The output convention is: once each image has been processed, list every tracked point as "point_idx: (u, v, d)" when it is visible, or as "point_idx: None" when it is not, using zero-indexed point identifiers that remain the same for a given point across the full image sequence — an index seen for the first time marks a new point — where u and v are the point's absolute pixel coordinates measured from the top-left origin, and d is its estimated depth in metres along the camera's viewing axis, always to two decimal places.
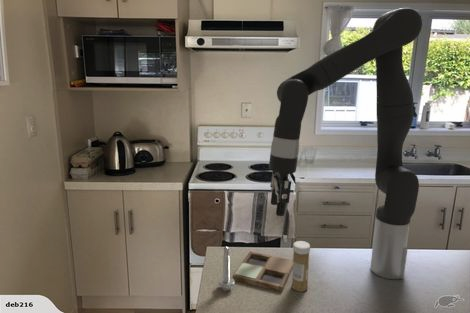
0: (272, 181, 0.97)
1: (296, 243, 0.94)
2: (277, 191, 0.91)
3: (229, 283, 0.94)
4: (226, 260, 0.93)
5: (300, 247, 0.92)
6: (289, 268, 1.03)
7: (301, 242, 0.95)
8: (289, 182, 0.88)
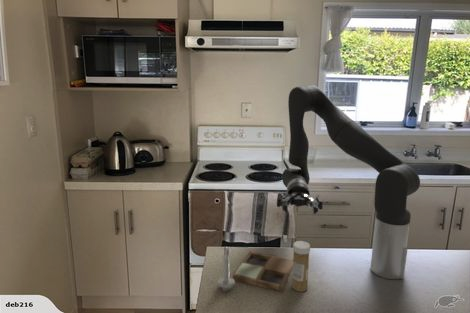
0: None
1: (296, 243, 0.94)
2: None
3: (229, 283, 0.94)
4: (226, 260, 0.93)
5: (300, 247, 0.92)
6: (289, 268, 1.03)
7: (301, 242, 0.95)
8: None
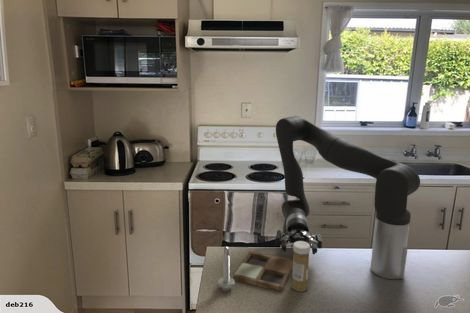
0: None
1: (296, 243, 0.94)
2: None
3: (229, 283, 0.94)
4: (226, 260, 0.93)
5: (300, 247, 0.92)
6: (289, 268, 1.03)
7: (301, 242, 0.95)
8: None
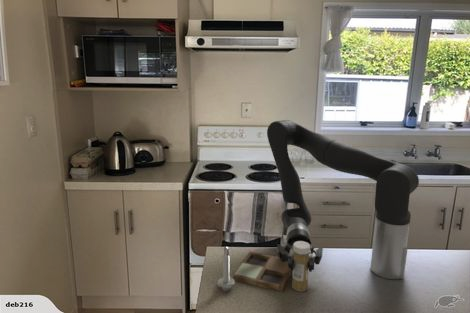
0: None
1: (296, 243, 0.94)
2: None
3: (229, 283, 0.94)
4: (226, 260, 0.93)
5: (301, 247, 0.92)
6: (289, 268, 1.03)
7: (301, 242, 0.95)
8: (277, 246, 1.02)
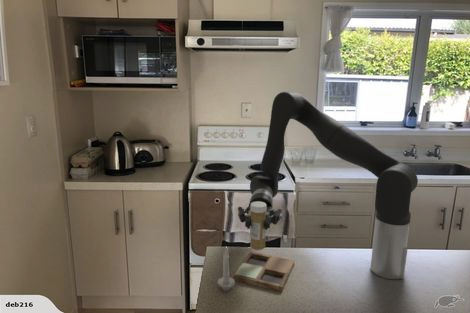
0: None
1: (253, 203, 0.97)
2: None
3: (229, 283, 0.94)
4: (226, 260, 0.93)
5: (256, 206, 0.94)
6: (289, 268, 1.03)
7: (258, 202, 0.97)
8: None
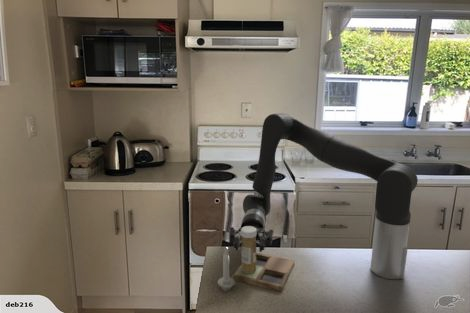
0: None
1: (243, 228, 0.99)
2: None
3: (229, 283, 0.94)
4: (226, 260, 0.93)
5: (247, 231, 0.97)
6: (289, 268, 1.03)
7: (249, 227, 1.00)
8: None
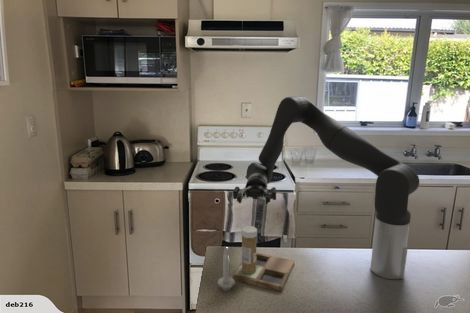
0: None
1: (244, 228, 0.99)
2: None
3: (229, 283, 0.94)
4: (226, 260, 0.93)
5: (247, 231, 0.97)
6: (289, 268, 1.03)
7: (249, 227, 1.00)
8: None
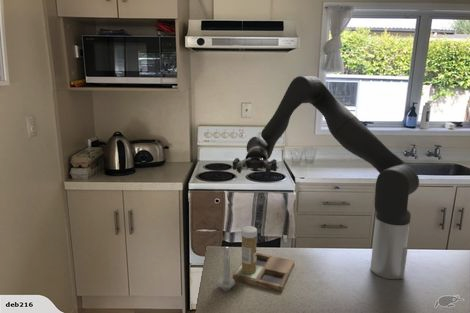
0: None
1: (244, 228, 0.99)
2: None
3: (229, 283, 0.94)
4: (226, 260, 0.93)
5: (247, 231, 0.97)
6: (289, 268, 1.03)
7: (249, 227, 1.00)
8: None
